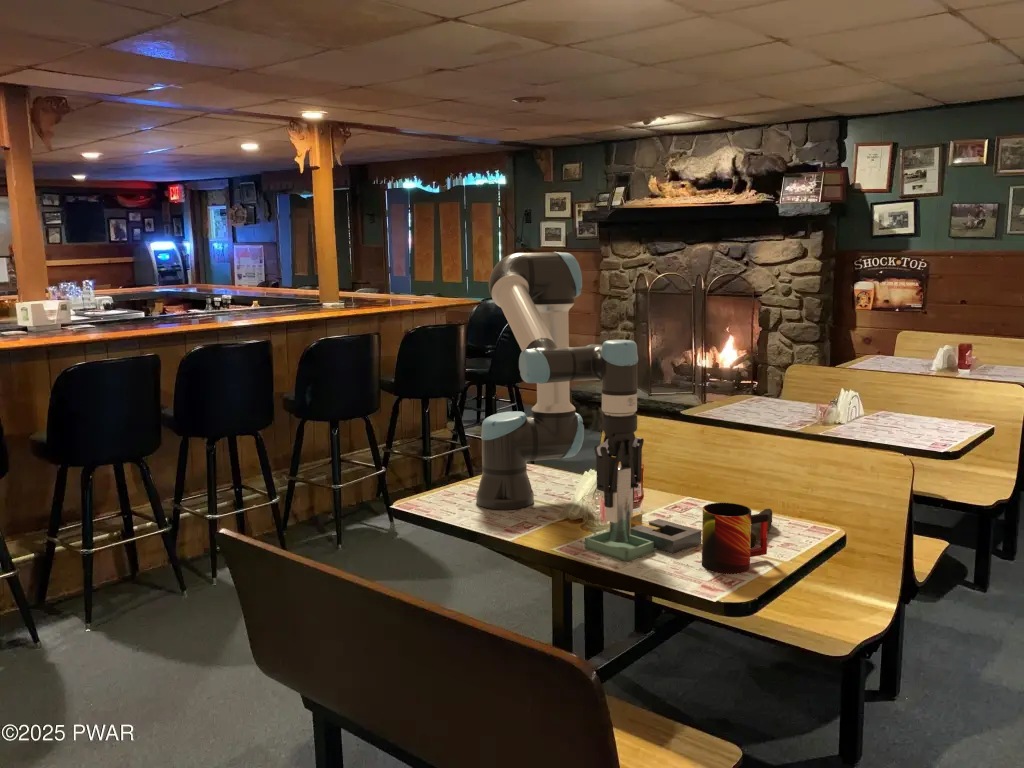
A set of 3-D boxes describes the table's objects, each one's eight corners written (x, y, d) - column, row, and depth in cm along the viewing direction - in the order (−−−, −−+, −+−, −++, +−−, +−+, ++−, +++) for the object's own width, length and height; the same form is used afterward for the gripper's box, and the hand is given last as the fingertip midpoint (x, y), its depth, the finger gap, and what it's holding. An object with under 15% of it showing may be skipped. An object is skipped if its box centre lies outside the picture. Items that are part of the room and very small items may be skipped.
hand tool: (754, 551, 181) (755, 530, 180) (736, 547, 183) (737, 527, 183) (781, 527, 196) (782, 508, 196) (765, 524, 199) (765, 505, 198)
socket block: (630, 541, 188) (630, 528, 187) (658, 531, 194) (658, 518, 194) (673, 554, 179) (673, 541, 178) (701, 543, 185) (701, 530, 185)
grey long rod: (605, 539, 182) (606, 467, 179) (618, 534, 185) (619, 464, 182) (620, 544, 179) (622, 471, 176) (633, 539, 182) (635, 468, 179)
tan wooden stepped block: (625, 532, 193) (625, 515, 192) (636, 528, 195) (637, 511, 195) (651, 540, 187) (651, 522, 186) (662, 536, 190) (662, 519, 189)
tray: (584, 547, 184) (584, 538, 184) (612, 538, 190) (612, 529, 189) (626, 561, 175) (626, 551, 175) (653, 551, 181) (654, 541, 180)
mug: (767, 559, 175) (769, 504, 174) (736, 578, 165) (737, 519, 163) (725, 549, 182) (727, 495, 180) (692, 566, 172) (693, 510, 170)
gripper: (604, 420, 169) (604, 531, 173) (659, 409, 181) (658, 513, 184) (578, 416, 175) (578, 523, 178) (632, 405, 186) (632, 506, 190)
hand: (619, 518), depth 181 cm, fingers closed on grey long rod, 4 cm apart
